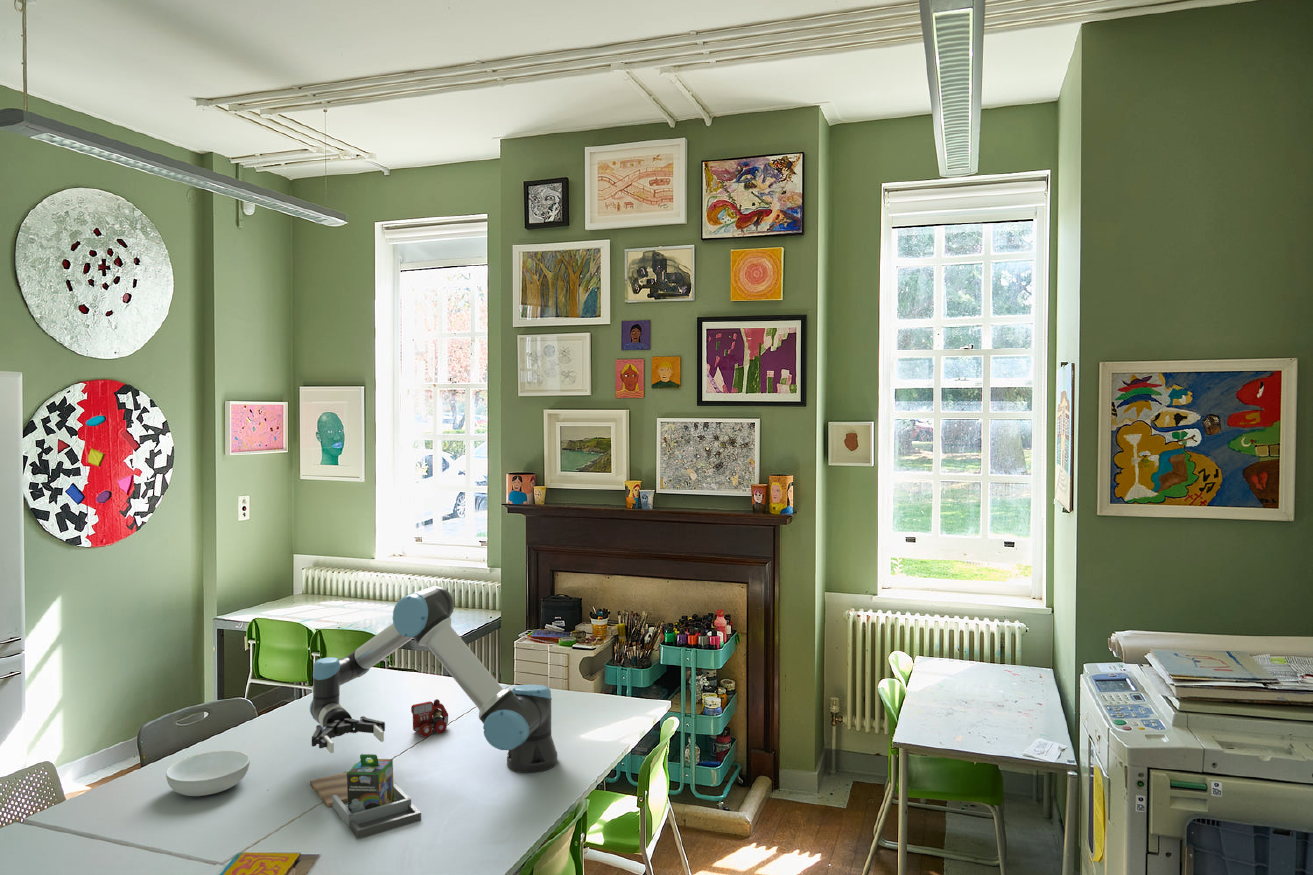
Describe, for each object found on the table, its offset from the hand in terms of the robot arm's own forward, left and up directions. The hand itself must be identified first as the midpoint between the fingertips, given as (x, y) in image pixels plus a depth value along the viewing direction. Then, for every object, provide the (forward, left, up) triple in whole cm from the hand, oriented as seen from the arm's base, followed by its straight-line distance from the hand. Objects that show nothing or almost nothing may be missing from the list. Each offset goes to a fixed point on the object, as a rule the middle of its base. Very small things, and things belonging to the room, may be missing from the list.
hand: (357, 742), depth 229 cm
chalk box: (-9, +5, -15) cm, 18 cm away
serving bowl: (+42, +13, -15) cm, 47 cm away
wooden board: (+5, -3, -15) cm, 16 cm away
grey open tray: (-12, +7, -15) cm, 20 cm away
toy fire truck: (+12, -46, -15) cm, 50 cm away
